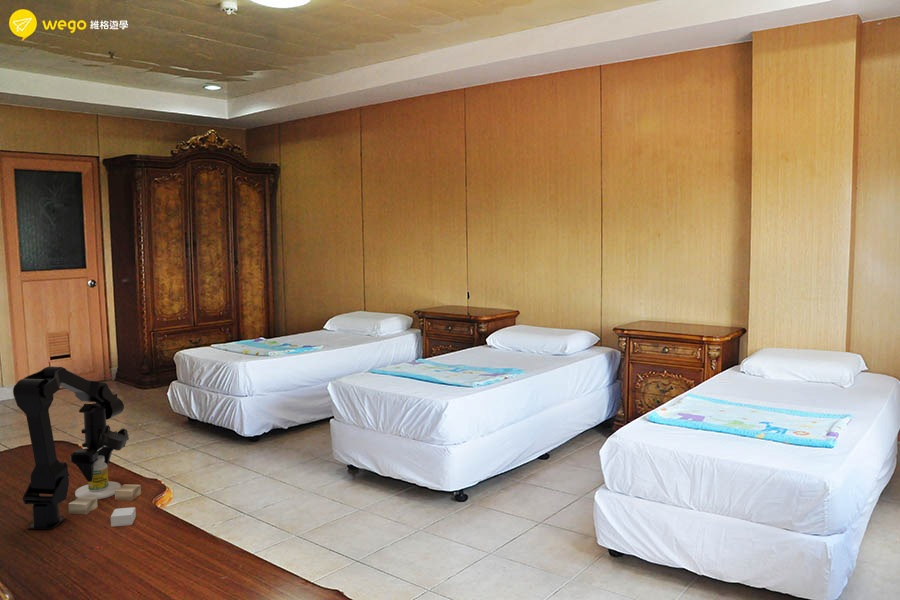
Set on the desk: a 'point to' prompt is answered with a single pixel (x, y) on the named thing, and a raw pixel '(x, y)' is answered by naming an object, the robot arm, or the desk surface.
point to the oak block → (127, 492)
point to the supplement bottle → (99, 476)
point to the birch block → (82, 505)
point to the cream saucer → (106, 493)
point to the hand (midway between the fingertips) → (97, 475)
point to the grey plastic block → (123, 516)
